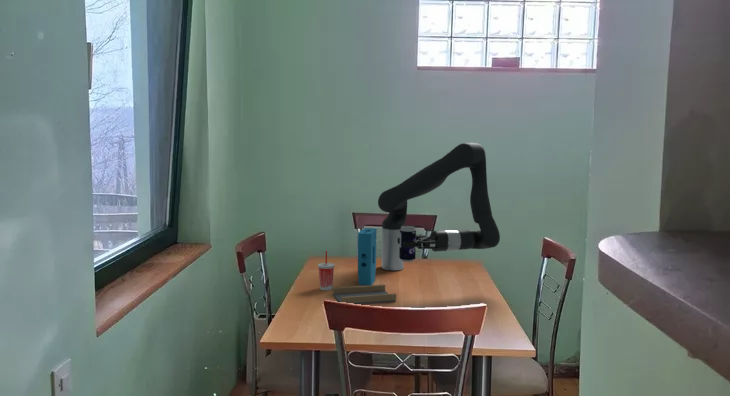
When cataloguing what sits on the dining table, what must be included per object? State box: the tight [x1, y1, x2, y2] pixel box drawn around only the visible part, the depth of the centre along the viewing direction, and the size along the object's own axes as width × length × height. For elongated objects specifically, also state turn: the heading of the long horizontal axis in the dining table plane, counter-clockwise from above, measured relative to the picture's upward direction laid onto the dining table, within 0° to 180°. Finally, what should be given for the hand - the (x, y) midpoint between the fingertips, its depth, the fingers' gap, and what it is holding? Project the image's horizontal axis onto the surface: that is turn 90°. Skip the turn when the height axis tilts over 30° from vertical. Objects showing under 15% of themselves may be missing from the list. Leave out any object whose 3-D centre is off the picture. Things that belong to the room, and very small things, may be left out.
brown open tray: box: [332, 284, 397, 305], centre depth 211 cm, size 13×19×3 cm
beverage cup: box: [317, 250, 335, 291], centre depth 223 cm, size 6×6×14 cm
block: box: [357, 227, 377, 286], centre depth 232 cm, size 12×5×20 cm, turn 168°
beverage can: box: [399, 225, 417, 263], centre depth 214 cm, size 6×6×12 cm
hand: (401, 242), depth 213 cm, fingers closed on beverage can, 5 cm apart
